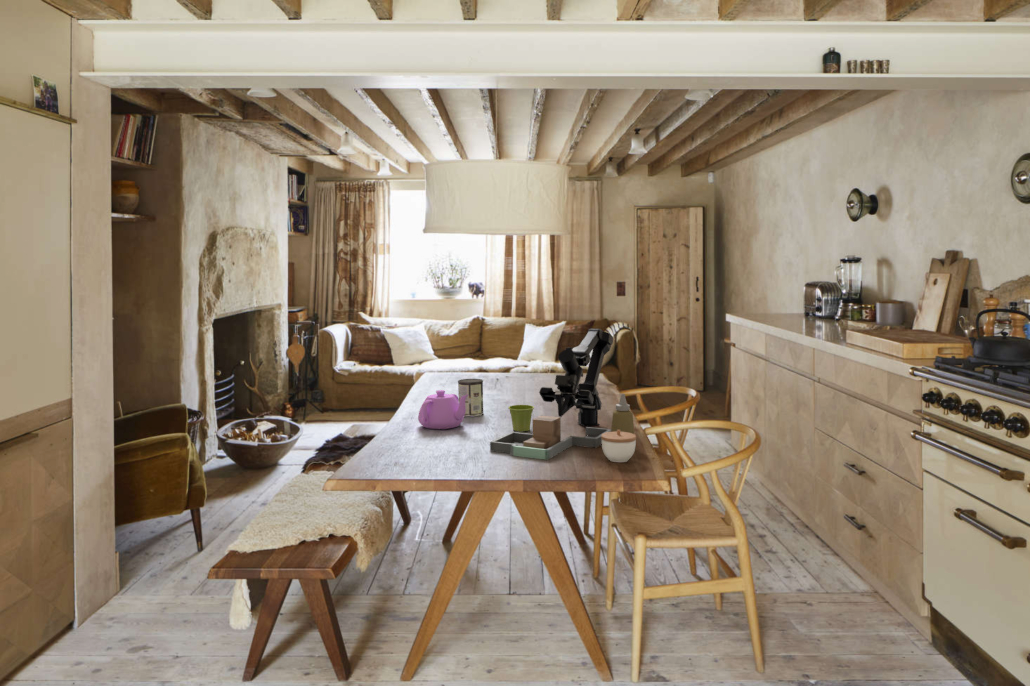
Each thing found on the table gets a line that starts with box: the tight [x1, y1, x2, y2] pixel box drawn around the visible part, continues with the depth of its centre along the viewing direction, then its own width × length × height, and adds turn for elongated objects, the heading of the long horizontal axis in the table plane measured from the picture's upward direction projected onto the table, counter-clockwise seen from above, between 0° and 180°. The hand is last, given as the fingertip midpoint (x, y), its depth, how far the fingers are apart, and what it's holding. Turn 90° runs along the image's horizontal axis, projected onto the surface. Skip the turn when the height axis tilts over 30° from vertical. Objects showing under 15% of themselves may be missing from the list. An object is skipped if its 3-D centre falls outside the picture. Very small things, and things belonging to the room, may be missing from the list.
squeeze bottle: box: [610, 393, 635, 434], centre depth 230 cm, size 8×8×18 cm
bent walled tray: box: [489, 426, 611, 461], centre depth 236 cm, size 36×30×3 cm
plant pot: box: [508, 404, 535, 433], centre depth 258 cm, size 9×9×9 cm
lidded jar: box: [601, 430, 637, 463], centre depth 216 cm, size 11×11×9 cm
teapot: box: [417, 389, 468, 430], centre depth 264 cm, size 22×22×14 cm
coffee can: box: [457, 378, 484, 417], centre depth 287 cm, size 10×10×14 cm
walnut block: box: [523, 415, 562, 449], centre depth 228 cm, size 14×7×10 cm, turn 153°
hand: (559, 416), depth 241 cm, fingers closed
